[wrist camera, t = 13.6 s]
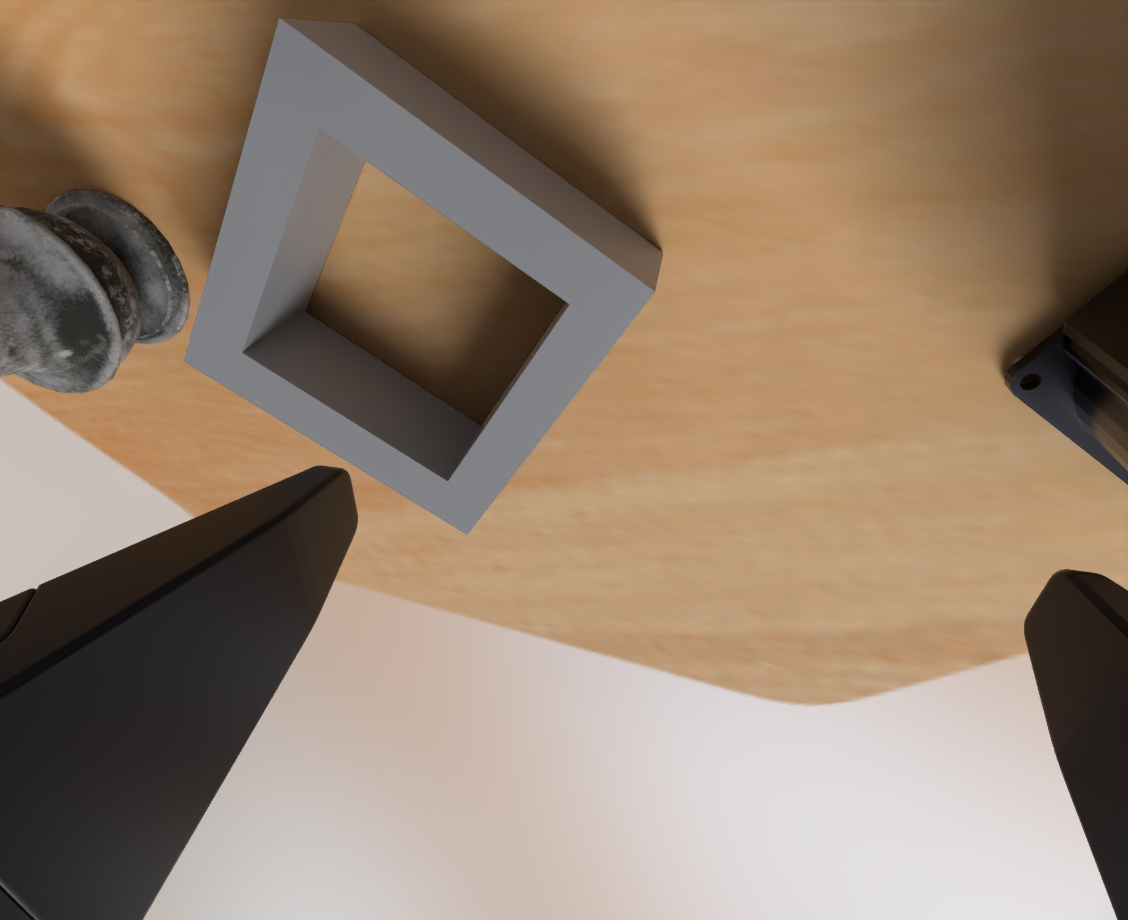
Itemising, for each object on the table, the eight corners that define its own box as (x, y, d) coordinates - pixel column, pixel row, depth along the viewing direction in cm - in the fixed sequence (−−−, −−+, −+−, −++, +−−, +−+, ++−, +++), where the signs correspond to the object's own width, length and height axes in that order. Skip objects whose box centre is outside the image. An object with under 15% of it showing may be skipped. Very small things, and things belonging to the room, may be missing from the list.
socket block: (663, 253, 18) (654, 291, 15) (496, 475, 23) (467, 535, 20) (354, 23, 16) (279, 17, 13) (253, 320, 22) (183, 361, 19)
